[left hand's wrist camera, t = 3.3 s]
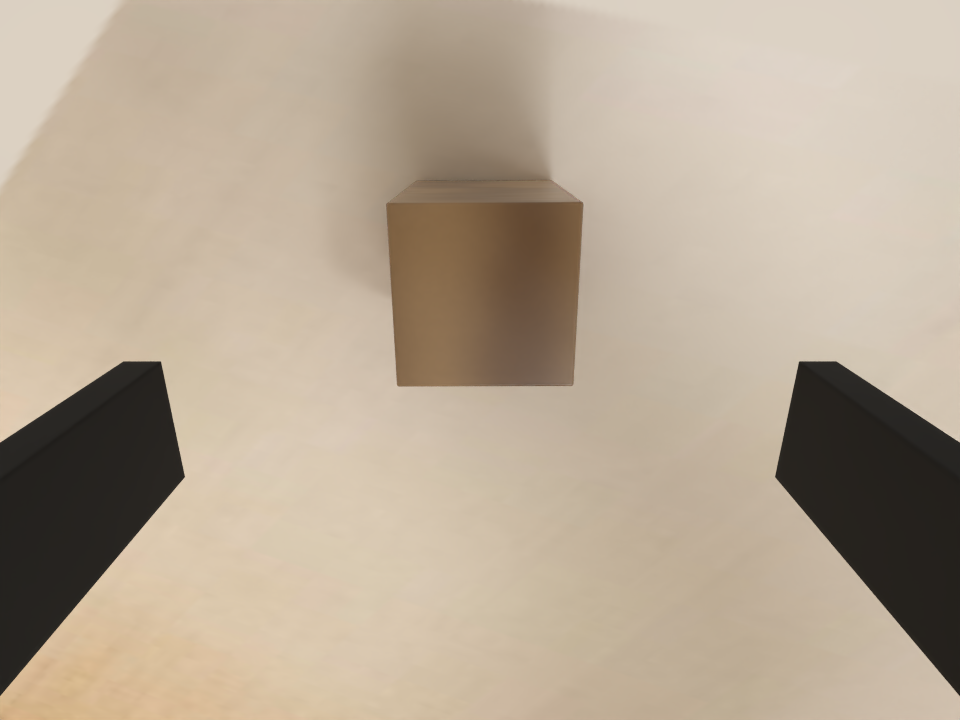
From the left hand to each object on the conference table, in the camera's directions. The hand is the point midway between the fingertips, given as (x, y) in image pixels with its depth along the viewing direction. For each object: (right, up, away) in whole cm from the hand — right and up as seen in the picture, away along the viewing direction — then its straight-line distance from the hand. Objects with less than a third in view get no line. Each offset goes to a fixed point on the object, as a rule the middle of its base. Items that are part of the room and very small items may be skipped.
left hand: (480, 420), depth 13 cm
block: (0, +6, +12) cm, 13 cm away
